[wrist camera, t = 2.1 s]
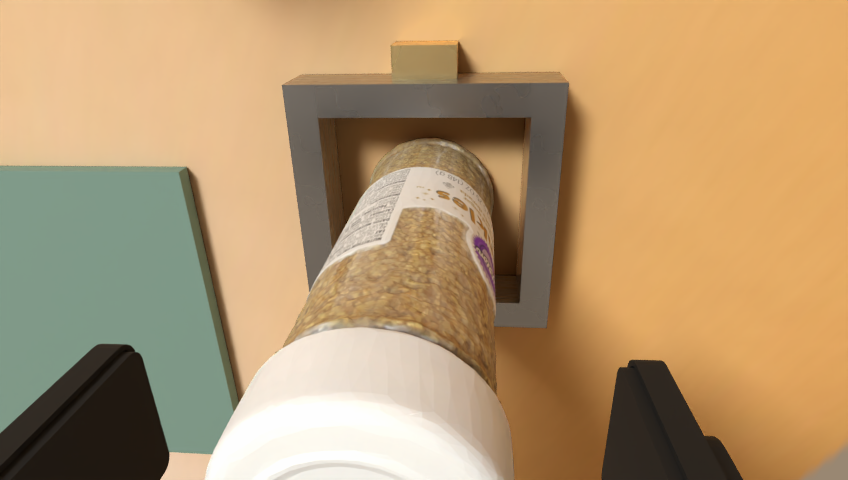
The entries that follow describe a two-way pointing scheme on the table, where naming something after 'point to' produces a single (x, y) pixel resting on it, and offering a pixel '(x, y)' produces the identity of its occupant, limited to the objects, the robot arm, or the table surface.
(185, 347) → the mat
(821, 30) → the table surface
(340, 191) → the grey picture frame
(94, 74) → the table surface
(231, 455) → the sprinkles bottle
